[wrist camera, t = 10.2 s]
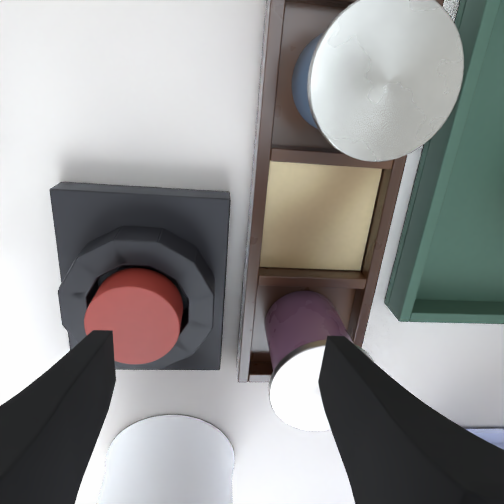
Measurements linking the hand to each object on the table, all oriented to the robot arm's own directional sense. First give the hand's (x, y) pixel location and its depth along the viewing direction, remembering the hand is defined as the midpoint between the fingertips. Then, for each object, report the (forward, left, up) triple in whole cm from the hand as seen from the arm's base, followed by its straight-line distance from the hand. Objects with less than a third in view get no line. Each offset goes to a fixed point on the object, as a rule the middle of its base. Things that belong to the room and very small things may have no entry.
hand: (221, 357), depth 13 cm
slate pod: (-5, -9, -8) cm, 13 cm away
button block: (+4, +1, -8) cm, 9 cm away
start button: (+4, +1, -5) cm, 7 cm away
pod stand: (-5, -3, -8) cm, 10 cm away
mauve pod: (-5, +4, -8) cm, 10 cm away
